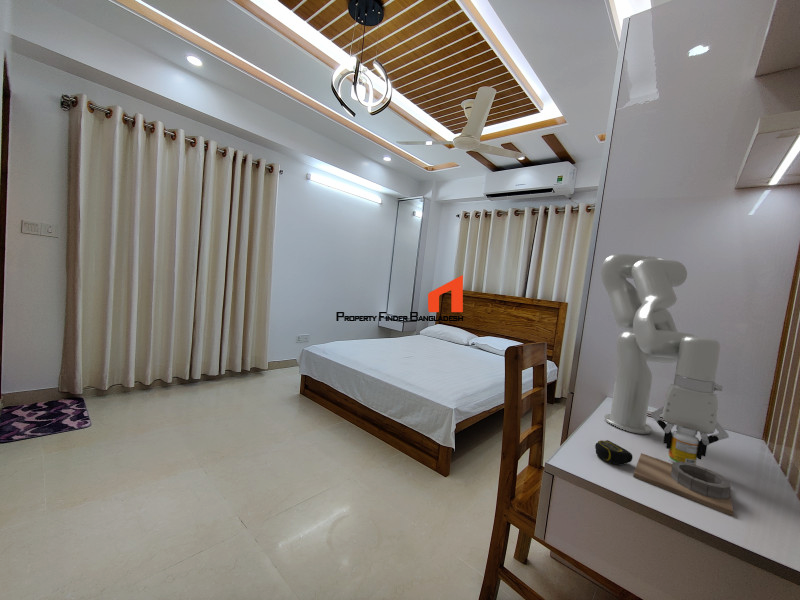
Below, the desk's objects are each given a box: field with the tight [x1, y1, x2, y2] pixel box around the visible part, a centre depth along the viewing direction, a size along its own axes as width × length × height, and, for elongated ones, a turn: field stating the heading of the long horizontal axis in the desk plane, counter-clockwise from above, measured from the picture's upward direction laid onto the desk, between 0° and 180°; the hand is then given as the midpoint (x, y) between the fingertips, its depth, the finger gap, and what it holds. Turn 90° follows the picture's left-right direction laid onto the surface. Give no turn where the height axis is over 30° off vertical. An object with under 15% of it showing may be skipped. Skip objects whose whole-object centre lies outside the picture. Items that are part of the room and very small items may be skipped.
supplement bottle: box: [667, 425, 700, 465], centre depth 82 cm, size 5×5×10 cm
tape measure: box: [594, 439, 634, 466], centre depth 80 cm, size 7×7×4 cm
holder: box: [633, 452, 734, 517], centre depth 73 cm, size 14×16×4 cm
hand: (683, 451), depth 82 cm, fingers closed on supplement bottle, 5 cm apart
